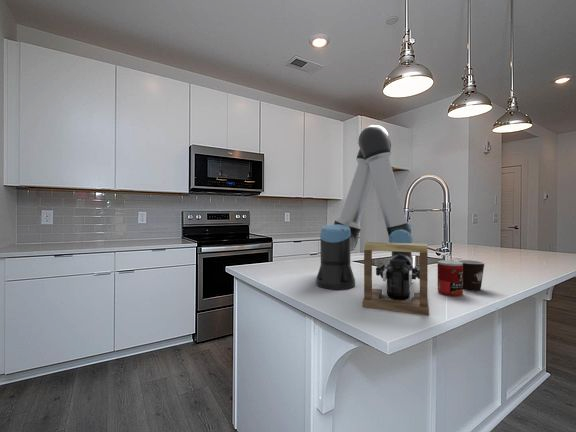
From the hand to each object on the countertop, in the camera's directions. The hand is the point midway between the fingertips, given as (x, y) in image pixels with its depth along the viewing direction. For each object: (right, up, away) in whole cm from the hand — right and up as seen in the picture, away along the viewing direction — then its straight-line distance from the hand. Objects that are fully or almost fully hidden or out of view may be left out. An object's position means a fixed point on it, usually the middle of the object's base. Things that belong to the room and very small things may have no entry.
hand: (397, 278), depth 88 cm
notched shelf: (+1, -9, +3) cm, 9 cm away
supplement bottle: (+2, -7, +5) cm, 9 cm away
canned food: (+24, -9, +14) cm, 29 cm away
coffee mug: (+33, -8, +20) cm, 39 cm away
